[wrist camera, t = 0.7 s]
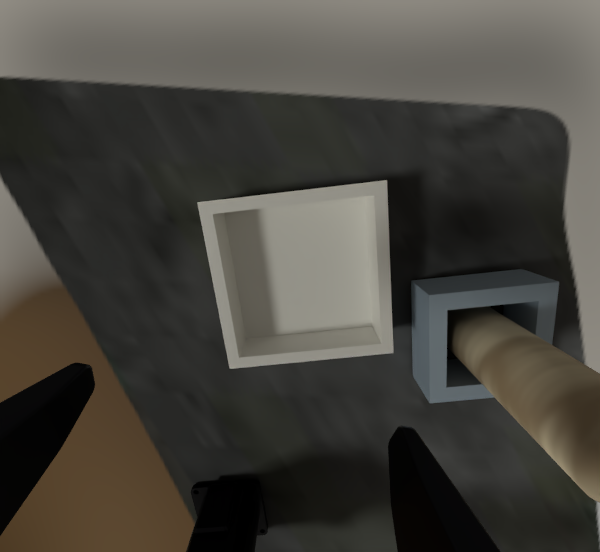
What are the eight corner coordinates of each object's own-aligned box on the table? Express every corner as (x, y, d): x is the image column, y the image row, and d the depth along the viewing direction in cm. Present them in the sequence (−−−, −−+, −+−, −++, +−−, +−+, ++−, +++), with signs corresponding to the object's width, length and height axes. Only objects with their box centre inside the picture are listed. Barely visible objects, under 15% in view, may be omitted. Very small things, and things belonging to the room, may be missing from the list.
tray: (380, 331, 25) (393, 352, 21) (239, 345, 25) (229, 368, 22) (373, 182, 22) (386, 180, 18) (213, 201, 22) (197, 202, 19)
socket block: (514, 366, 25) (546, 392, 22) (412, 375, 26) (429, 403, 22) (521, 268, 23) (559, 281, 20) (411, 280, 24) (429, 295, 20)
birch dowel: (490, 346, 25) (682, 501, 12) (436, 352, 25) (571, 510, 13) (493, 296, 24) (707, 410, 11) (437, 302, 24) (584, 420, 11)
